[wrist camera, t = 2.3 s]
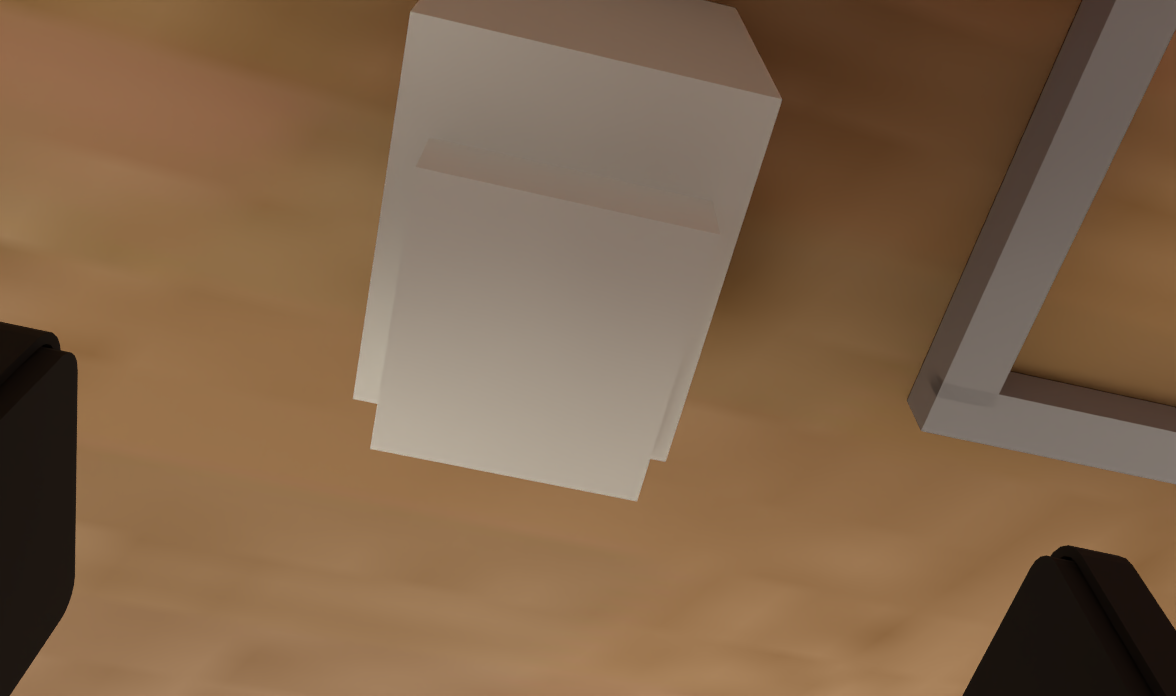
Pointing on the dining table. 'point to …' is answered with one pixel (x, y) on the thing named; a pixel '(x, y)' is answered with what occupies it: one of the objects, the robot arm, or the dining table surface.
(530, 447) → the stepped cream block
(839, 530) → the dining table surface
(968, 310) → the pink toy truck
